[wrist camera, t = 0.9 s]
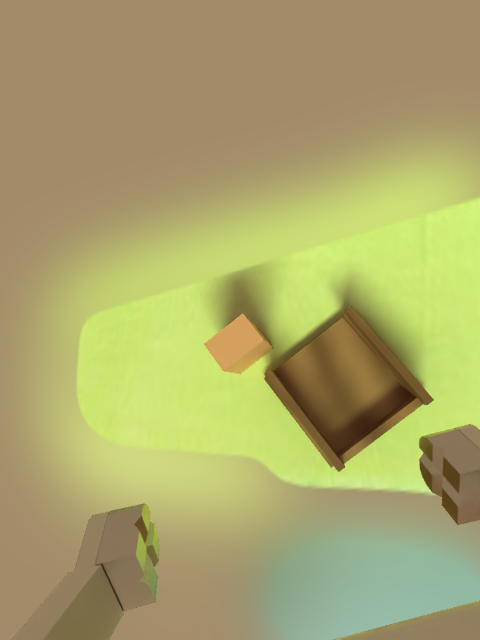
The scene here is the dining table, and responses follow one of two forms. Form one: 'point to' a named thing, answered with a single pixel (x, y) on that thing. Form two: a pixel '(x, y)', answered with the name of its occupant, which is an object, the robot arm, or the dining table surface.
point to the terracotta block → (238, 345)
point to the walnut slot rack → (346, 389)
